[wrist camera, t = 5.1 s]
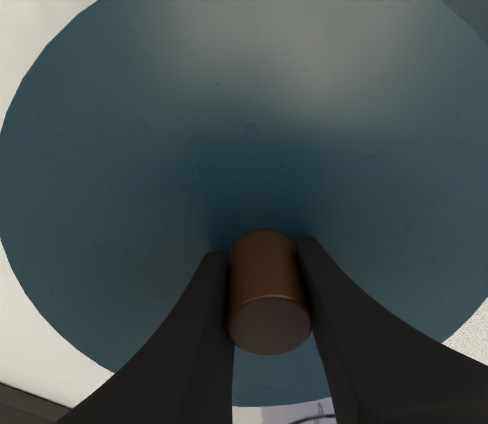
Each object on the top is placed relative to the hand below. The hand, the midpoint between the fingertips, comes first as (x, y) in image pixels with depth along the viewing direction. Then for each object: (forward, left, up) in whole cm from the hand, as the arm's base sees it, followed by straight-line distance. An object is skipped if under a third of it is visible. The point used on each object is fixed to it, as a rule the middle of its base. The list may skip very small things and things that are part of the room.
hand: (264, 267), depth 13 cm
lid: (0, 0, -1) cm, 1 cm away
